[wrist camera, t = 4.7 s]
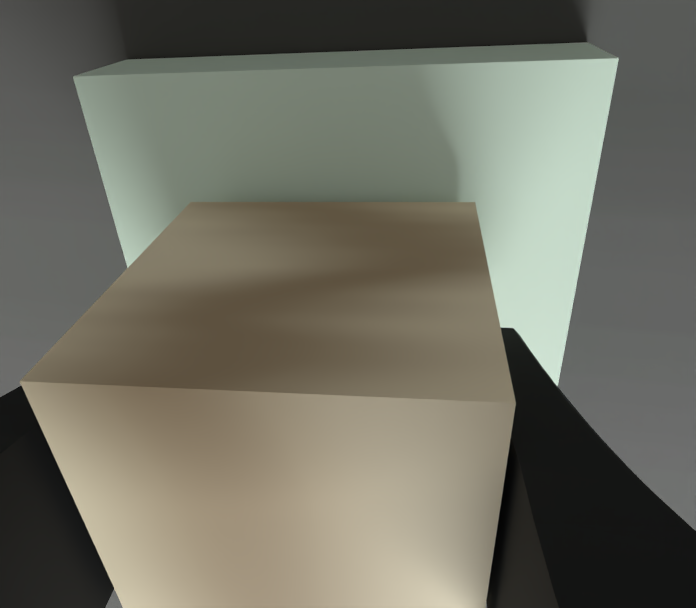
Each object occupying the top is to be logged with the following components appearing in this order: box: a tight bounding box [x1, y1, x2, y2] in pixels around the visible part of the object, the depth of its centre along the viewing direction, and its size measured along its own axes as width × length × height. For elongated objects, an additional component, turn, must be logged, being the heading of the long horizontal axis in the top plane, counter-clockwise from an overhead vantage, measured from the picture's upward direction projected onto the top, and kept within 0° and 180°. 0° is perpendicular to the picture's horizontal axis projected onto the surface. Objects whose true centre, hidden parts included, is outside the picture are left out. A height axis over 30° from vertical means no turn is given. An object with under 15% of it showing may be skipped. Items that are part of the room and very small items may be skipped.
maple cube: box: [20, 202, 516, 608], centre depth 9 cm, size 5×5×5 cm
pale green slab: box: [73, 42, 619, 387], centre depth 12 cm, size 9×9×2 cm
